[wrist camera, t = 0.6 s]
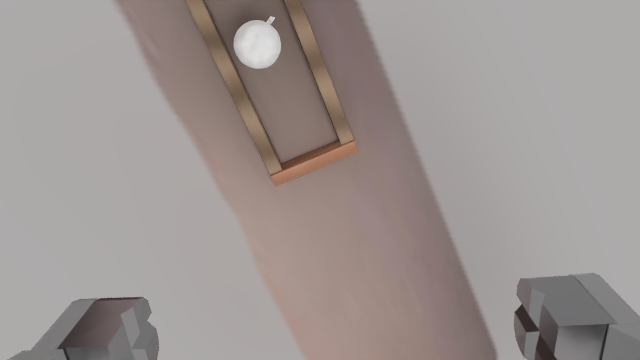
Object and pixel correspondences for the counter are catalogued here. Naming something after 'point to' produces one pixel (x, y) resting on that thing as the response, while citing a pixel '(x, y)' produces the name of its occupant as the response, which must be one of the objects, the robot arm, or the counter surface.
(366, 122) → the counter surface
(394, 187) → the counter surface
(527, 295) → the robot arm
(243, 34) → the milkshake
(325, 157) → the rail guide
